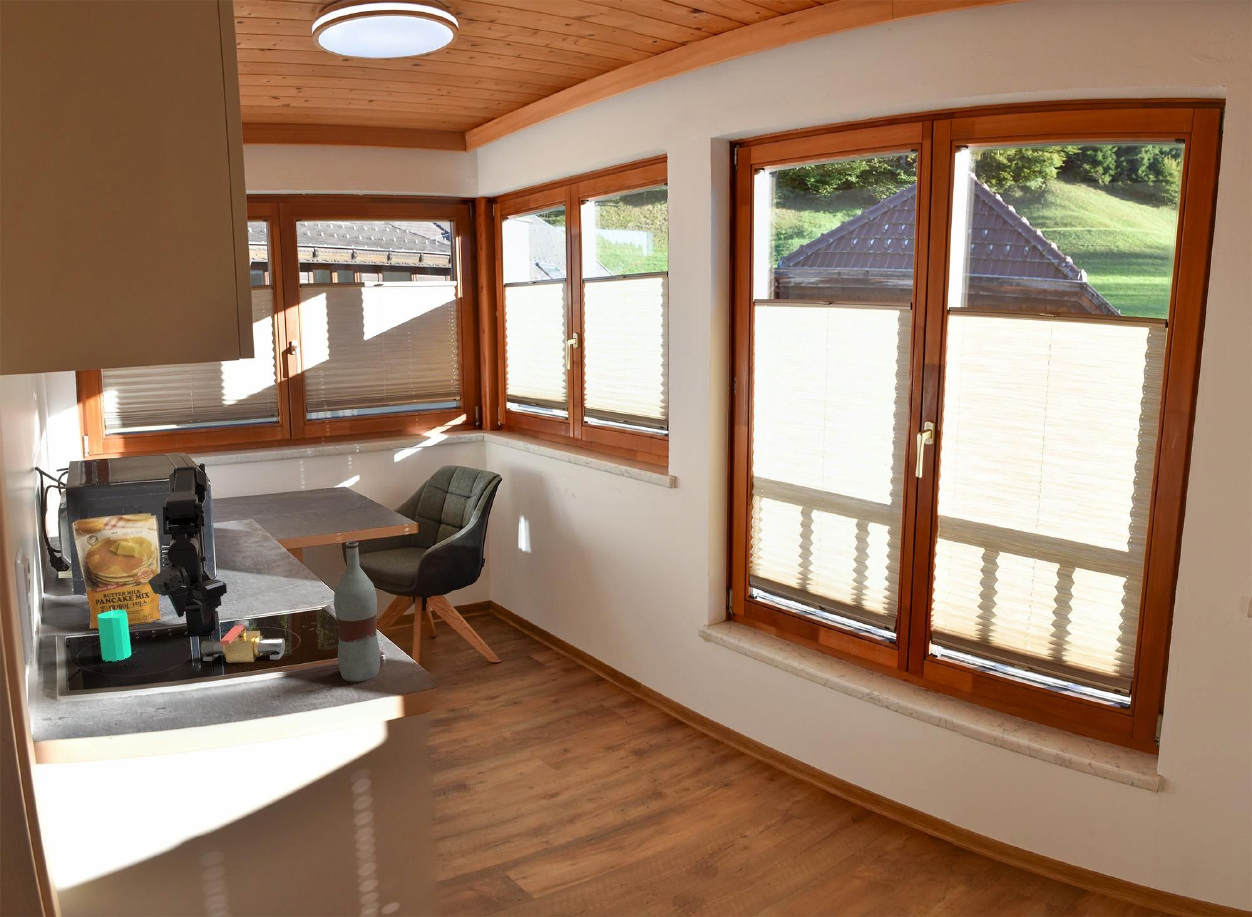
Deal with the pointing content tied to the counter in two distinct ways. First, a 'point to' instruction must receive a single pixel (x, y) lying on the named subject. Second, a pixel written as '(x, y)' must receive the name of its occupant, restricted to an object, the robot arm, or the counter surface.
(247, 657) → the valve
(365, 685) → the counter surface
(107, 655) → the candle
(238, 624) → the lever
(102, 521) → the pancake mix bag
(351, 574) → the vodka
